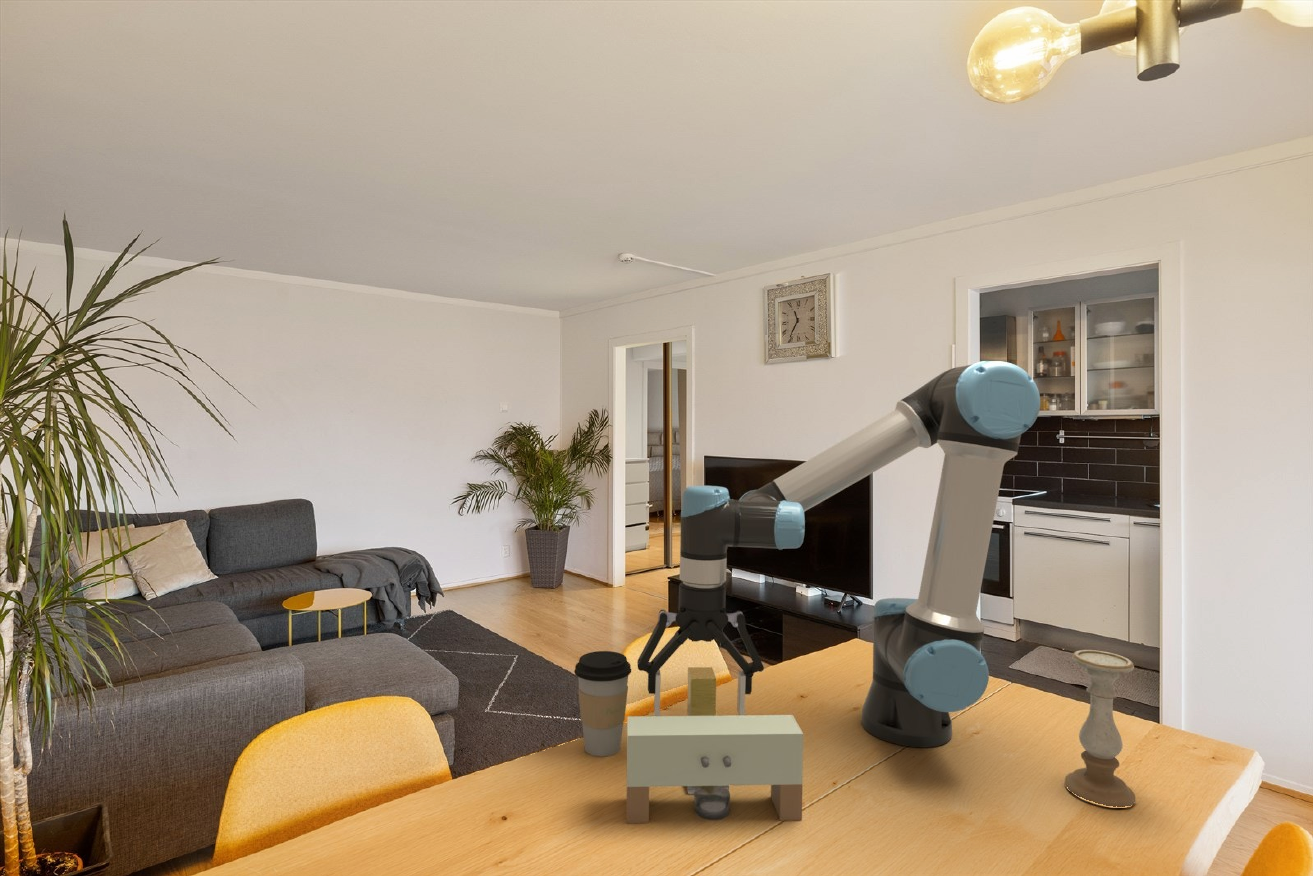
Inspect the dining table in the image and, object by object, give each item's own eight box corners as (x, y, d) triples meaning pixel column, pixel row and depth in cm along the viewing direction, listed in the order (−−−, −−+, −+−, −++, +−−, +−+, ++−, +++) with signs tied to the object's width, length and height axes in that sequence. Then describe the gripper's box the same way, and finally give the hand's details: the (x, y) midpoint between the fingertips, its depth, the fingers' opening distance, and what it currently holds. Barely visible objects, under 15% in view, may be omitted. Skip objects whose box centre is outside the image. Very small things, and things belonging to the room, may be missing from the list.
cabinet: (791, 796, 100) (792, 715, 100) (803, 824, 93) (805, 737, 93) (626, 799, 99) (627, 716, 98) (626, 827, 92) (627, 739, 92)
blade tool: (716, 751, 113) (718, 667, 113) (728, 793, 100) (730, 699, 100) (680, 751, 113) (681, 667, 113) (688, 794, 100) (689, 699, 100)
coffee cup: (622, 765, 109) (623, 671, 108) (565, 758, 110) (566, 666, 110) (636, 738, 118) (637, 651, 117) (583, 732, 120) (584, 647, 119)
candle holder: (1124, 784, 104) (1127, 651, 104) (1144, 815, 96) (1148, 671, 95) (1058, 774, 107) (1061, 645, 107) (1072, 803, 99) (1076, 664, 98)
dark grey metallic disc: (727, 800, 99) (727, 784, 99) (732, 820, 94) (732, 803, 94) (692, 801, 99) (692, 784, 99) (696, 821, 94) (696, 804, 94)
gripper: (774, 578, 114) (770, 703, 115) (624, 575, 113) (621, 702, 114) (784, 589, 107) (780, 723, 108) (624, 586, 106) (621, 722, 106)
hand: (698, 713), depth 111 cm, fingers open, 13 cm apart
